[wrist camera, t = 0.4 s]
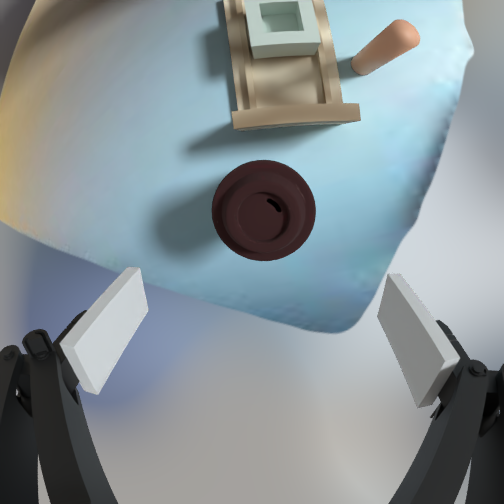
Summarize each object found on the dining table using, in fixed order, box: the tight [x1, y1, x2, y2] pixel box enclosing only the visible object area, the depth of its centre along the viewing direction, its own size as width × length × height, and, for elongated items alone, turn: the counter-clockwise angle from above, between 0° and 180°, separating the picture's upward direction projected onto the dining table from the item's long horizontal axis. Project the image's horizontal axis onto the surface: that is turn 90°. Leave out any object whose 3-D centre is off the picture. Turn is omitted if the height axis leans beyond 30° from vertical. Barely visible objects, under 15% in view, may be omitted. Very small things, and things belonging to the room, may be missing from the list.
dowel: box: [351, 20, 420, 75], centre depth 23 cm, size 3×3×15 cm
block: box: [244, 0, 321, 59], centre depth 26 cm, size 8×8×6 cm
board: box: [223, 0, 361, 131], centre depth 27 cm, size 22×14×8 cm, turn 7°
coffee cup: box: [212, 160, 316, 261], centre depth 32 cm, size 10×10×15 cm
